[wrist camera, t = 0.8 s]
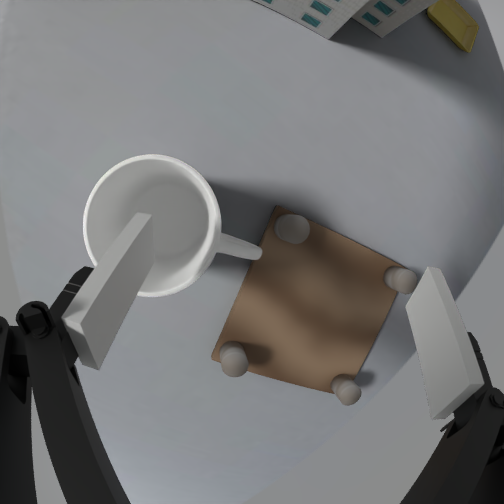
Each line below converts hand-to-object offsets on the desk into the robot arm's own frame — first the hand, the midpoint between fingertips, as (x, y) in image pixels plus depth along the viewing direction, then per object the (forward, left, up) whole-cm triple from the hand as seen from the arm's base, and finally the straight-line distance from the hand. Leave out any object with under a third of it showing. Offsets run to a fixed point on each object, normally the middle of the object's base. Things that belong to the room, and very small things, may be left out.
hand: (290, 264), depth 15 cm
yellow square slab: (-41, +15, -17) cm, 46 cm away
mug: (+1, -5, -16) cm, 17 cm away
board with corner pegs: (+4, +10, -16) cm, 19 cm away
